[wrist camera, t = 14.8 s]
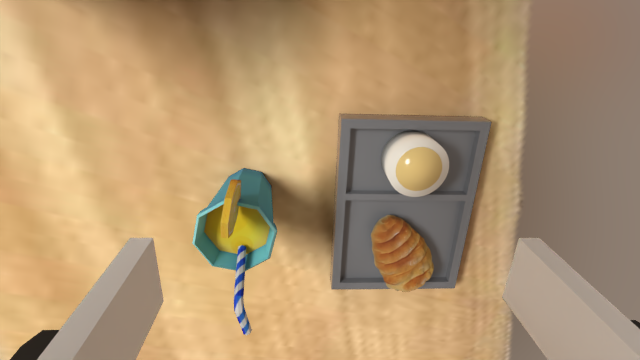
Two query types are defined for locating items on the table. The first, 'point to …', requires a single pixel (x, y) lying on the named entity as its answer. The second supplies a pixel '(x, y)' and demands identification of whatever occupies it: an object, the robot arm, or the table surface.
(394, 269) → the pastry
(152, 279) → the robot arm
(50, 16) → the table surface
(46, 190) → the table surface
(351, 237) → the serving board
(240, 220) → the cup
